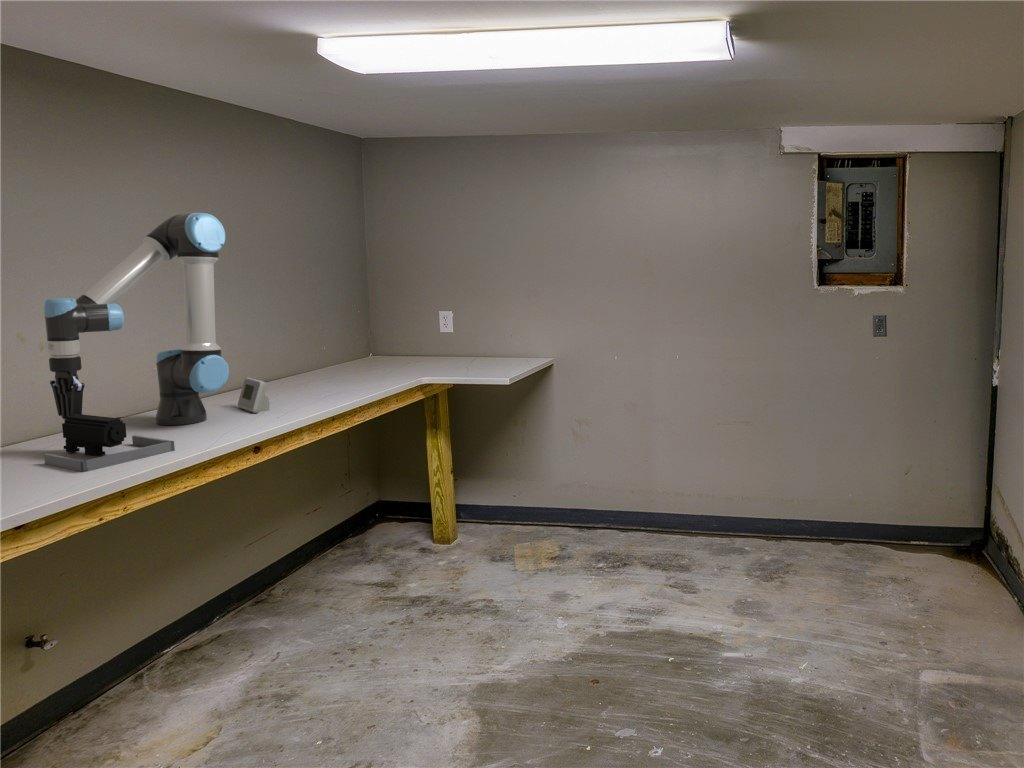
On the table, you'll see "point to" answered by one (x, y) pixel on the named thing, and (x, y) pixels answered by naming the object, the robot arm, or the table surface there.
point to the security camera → (92, 433)
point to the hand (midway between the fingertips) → (72, 442)
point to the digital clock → (253, 396)
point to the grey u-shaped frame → (114, 455)
